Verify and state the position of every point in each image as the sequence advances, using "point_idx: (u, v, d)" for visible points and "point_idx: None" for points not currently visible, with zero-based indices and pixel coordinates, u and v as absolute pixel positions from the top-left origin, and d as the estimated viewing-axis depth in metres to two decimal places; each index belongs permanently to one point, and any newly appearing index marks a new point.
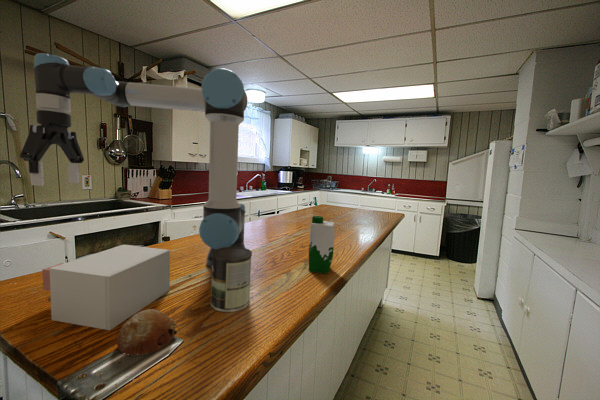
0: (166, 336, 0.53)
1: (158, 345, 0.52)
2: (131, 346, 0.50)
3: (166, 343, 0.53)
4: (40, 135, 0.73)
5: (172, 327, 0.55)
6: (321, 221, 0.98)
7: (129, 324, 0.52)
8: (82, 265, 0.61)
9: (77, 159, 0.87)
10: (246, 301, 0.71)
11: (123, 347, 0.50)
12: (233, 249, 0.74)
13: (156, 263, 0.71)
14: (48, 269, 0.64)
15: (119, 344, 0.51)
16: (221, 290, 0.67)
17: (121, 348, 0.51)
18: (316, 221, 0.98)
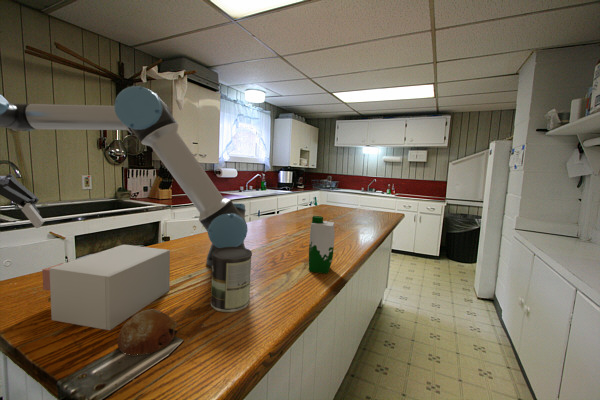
0: (166, 336, 0.53)
1: (159, 345, 0.52)
2: (132, 346, 0.50)
3: (167, 343, 0.53)
4: None
5: (173, 327, 0.55)
6: (321, 221, 0.98)
7: (129, 324, 0.52)
8: (82, 265, 0.61)
9: (26, 199, 0.72)
10: (246, 301, 0.71)
11: (124, 346, 0.50)
12: (233, 249, 0.74)
13: (156, 263, 0.71)
14: (48, 269, 0.64)
15: (120, 344, 0.51)
16: (221, 290, 0.67)
17: (122, 348, 0.51)
18: (316, 221, 0.98)
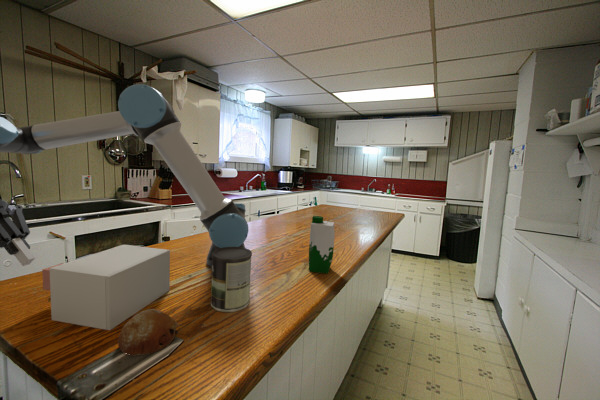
0: (167, 336, 0.53)
1: (159, 345, 0.52)
2: (133, 346, 0.50)
3: (167, 343, 0.53)
4: None
5: (173, 327, 0.55)
6: (321, 221, 0.98)
7: (130, 324, 0.52)
8: (82, 265, 0.61)
9: (17, 233, 0.68)
10: (246, 301, 0.71)
11: (124, 346, 0.50)
12: (233, 249, 0.74)
13: (156, 263, 0.71)
14: (48, 269, 0.64)
15: (120, 344, 0.51)
16: (221, 290, 0.67)
17: (122, 348, 0.51)
18: (316, 221, 0.98)
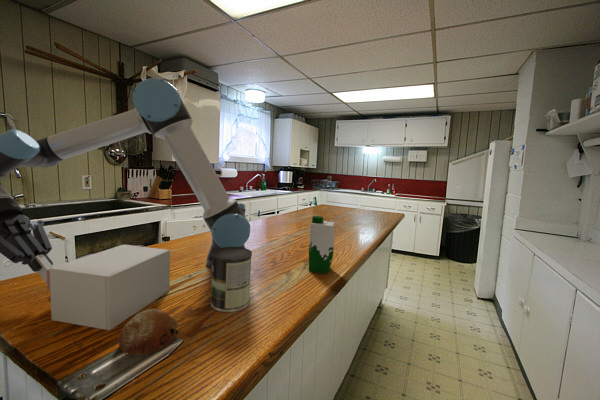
0: (168, 336, 0.53)
1: (160, 345, 0.52)
2: (133, 346, 0.50)
3: (168, 343, 0.54)
4: None
5: (174, 327, 0.55)
6: (321, 221, 0.98)
7: (131, 324, 0.52)
8: (82, 265, 0.61)
9: (40, 249, 0.67)
10: (246, 301, 0.71)
11: (125, 346, 0.50)
12: (233, 249, 0.74)
13: (156, 263, 0.71)
14: None
15: (121, 344, 0.51)
16: (221, 290, 0.67)
17: (123, 348, 0.51)
18: (316, 221, 0.98)
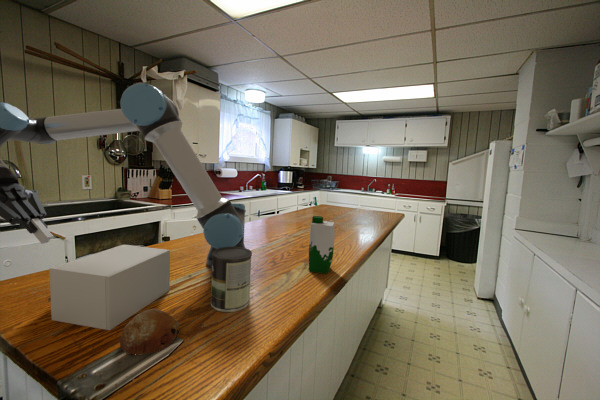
0: (169, 336, 0.54)
1: (161, 345, 0.52)
2: (134, 346, 0.50)
3: (169, 343, 0.54)
4: None
5: (175, 327, 0.55)
6: (321, 221, 0.98)
7: (132, 324, 0.52)
8: (82, 265, 0.61)
9: (35, 214, 0.73)
10: (246, 301, 0.71)
11: (126, 346, 0.50)
12: (233, 249, 0.74)
13: (156, 263, 0.71)
14: None
15: (122, 344, 0.51)
16: (221, 290, 0.67)
17: (124, 348, 0.51)
18: (316, 221, 0.98)
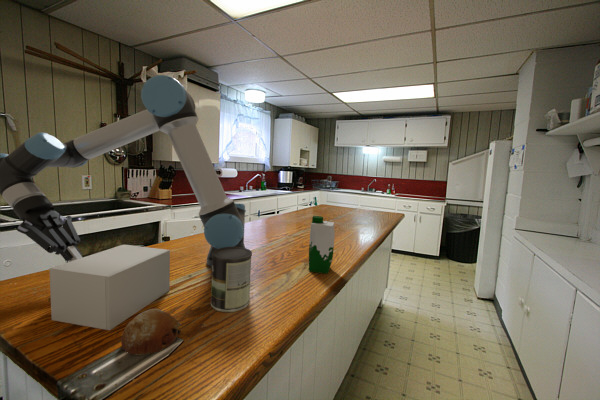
0: (170, 336, 0.54)
1: (162, 344, 0.52)
2: (136, 346, 0.50)
3: (170, 342, 0.54)
4: (33, 228, 0.70)
5: (176, 327, 0.55)
6: (321, 221, 0.98)
7: (133, 323, 0.52)
8: (82, 265, 0.61)
9: (70, 241, 0.75)
10: (246, 301, 0.71)
11: (127, 346, 0.51)
12: (233, 249, 0.74)
13: (156, 263, 0.71)
14: None
15: (123, 343, 0.51)
16: (221, 290, 0.67)
17: (125, 348, 0.51)
18: (316, 221, 0.98)
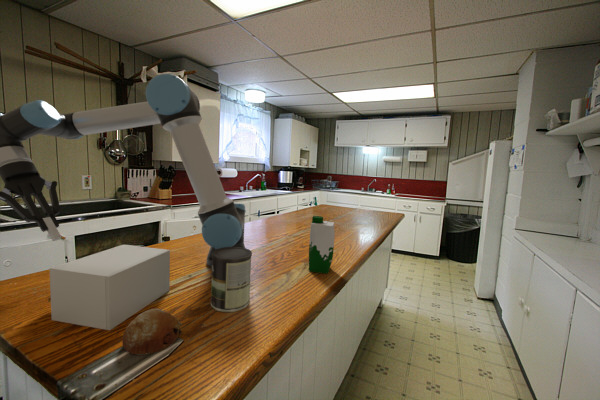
0: (171, 335, 0.54)
1: (163, 344, 0.52)
2: (137, 346, 0.51)
3: (171, 342, 0.54)
4: (10, 198, 0.72)
5: (177, 326, 0.56)
6: (321, 221, 0.98)
7: (134, 323, 0.52)
8: (82, 265, 0.61)
9: (48, 211, 0.77)
10: (246, 301, 0.71)
11: (129, 346, 0.51)
12: (233, 249, 0.74)
13: (156, 263, 0.71)
14: None
15: (125, 343, 0.51)
16: (221, 290, 0.67)
17: (127, 348, 0.51)
18: (316, 221, 0.98)
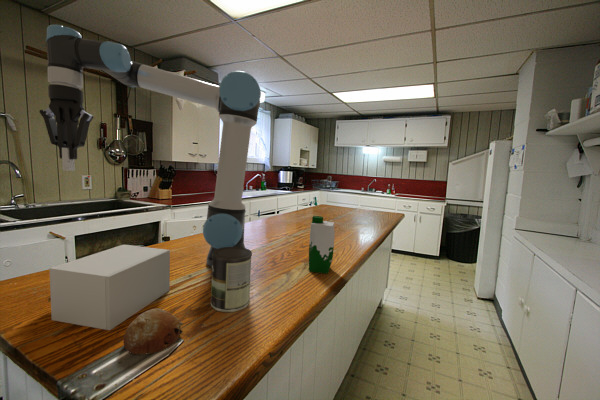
0: (172, 335, 0.54)
1: (164, 344, 0.52)
2: (138, 346, 0.51)
3: (172, 342, 0.54)
4: (46, 119, 0.76)
5: (178, 326, 0.56)
6: (321, 221, 0.98)
7: (135, 323, 0.53)
8: (82, 265, 0.61)
9: (69, 142, 0.77)
10: (246, 301, 0.71)
11: (130, 346, 0.51)
12: (233, 249, 0.74)
13: (156, 263, 0.71)
14: None
15: (126, 343, 0.51)
16: (221, 290, 0.67)
17: (128, 348, 0.51)
18: (316, 221, 0.98)
